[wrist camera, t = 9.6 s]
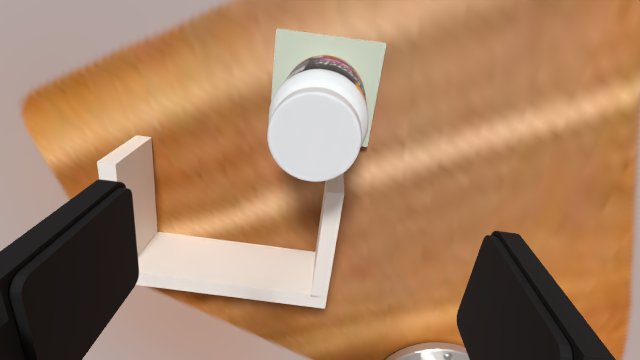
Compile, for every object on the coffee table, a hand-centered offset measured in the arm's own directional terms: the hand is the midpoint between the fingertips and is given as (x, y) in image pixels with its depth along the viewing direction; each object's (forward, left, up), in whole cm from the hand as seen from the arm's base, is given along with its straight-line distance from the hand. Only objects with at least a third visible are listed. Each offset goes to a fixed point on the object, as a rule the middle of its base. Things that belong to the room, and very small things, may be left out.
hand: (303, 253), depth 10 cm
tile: (0, 0, -20) cm, 20 cm away
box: (-10, +6, -20) cm, 23 cm away
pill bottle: (0, 0, -20) cm, 20 cm away
